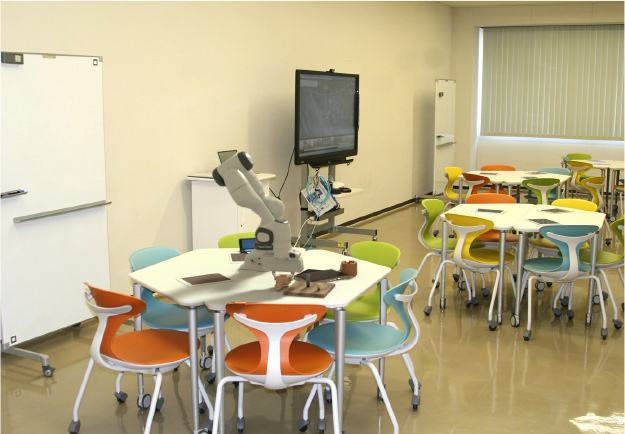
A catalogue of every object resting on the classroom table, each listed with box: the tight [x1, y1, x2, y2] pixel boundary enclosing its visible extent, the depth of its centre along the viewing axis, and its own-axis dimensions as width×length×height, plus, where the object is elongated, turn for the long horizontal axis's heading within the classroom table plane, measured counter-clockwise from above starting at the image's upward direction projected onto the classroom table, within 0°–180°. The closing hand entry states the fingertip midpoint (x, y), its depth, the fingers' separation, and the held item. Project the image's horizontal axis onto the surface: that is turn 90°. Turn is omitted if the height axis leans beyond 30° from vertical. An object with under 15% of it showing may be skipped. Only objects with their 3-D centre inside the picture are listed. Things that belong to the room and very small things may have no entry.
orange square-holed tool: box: [274, 273, 292, 290], centre depth 340 cm, size 6×13×4 cm, turn 165°
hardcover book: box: [293, 268, 349, 283], centre depth 359 cm, size 16×23×2 cm
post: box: [306, 274, 310, 287], centre depth 337 cm, size 2×2×6 cm
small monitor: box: [238, 237, 257, 254], centre depth 425 cm, size 12×11×7 cm
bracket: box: [339, 259, 358, 277], centre depth 369 cm, size 18×8×7 cm, turn 2°
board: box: [282, 280, 336, 298], centre depth 336 cm, size 20×20×2 cm
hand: (283, 280), depth 344 cm, fingers closed on orange square-holed tool, 6 cm apart
